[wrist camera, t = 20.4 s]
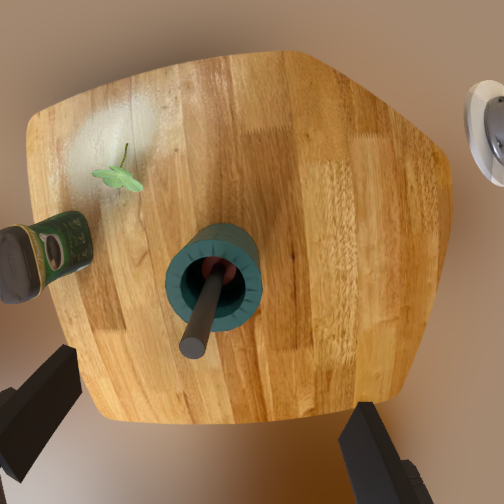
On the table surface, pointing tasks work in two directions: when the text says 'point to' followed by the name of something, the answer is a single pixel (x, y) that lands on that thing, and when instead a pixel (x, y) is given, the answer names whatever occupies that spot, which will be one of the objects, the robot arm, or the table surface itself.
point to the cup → (232, 294)
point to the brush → (206, 306)
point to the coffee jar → (42, 254)
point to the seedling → (119, 177)
